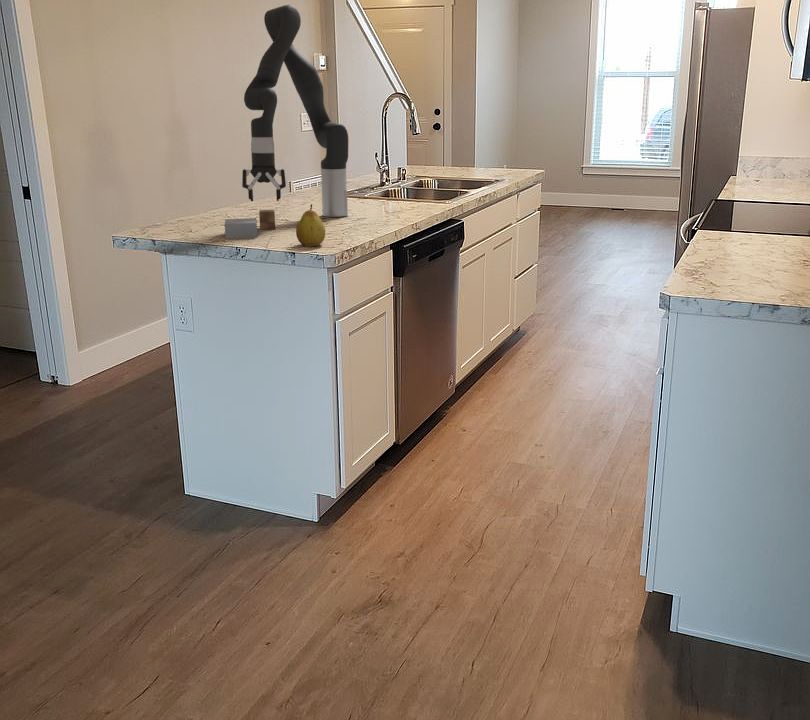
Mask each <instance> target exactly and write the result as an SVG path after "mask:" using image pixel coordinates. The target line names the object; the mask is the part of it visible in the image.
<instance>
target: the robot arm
mask: <svg viewBox="0 0 810 720" xmlns="http://www.w3.org/2000/svg"><path fill="white" fill-rule="evenodd" d="M263 17H264V18H263V19H264V20H263V21H264V25H265V29H266V31H267V33H268V35H269V37H270V38H271V40H272V43H271V44H270V46H268V48H267V49H266V51H265V52H264V54H263V55H262V57H261V60H260V62H259V65H258V68H257V72H256V75H255V76H254V77H253V79H252V81H250V83H249V84H248V86H247V87H246V88H245V89H246V90H245V92H244V96H243V102H244V104H245V107H246V108H247V109H248V110H251V111H263V112H262V114H261V116H260V117H255V118H253V119H251V120H250V130H251V131H250V132H251V134H250V135H251V136H250V137H251V141H250V151H251V153H250V154H251V169H246V168H244V169H242V178H241V179H242V183H241V184H242V188H243V189H247V192H248V193H247V195H248V200H250V202H254V190H253V188H254V186H255V185H256V183H261V184H262V183H266V184H267V183H272V185H273V186H274V187H275V188H276V189H275V193H276V202H279V200H281V197H282V194H281V190H282V189H284V188H286V186H287V185H286V184H287V183H286V182H287V181H286V173H285V169H284V168H281V169H276V162H275V160H276V159H275V158H276V157H275V141H274V128H273V127H274V126H273V125H274V118H275V115H276V114H275V113H276V110H277V105H278V95H277V93H276V91H275V90H274V89H273V88H274V87H276V86H277V84H278V80H279V77H280V73H281V71H282V67H283V64H284V66H285V67H286V69H287V71H288V74H289V75H290V76H289V77H290V78H291V81H292V83H293V86H294V87H295V90H296V92H297V94H298V96H299V98H300V101H301V103H302V106H303V107H304V110H305V112H306V114H307V116H308V119H309V122H310V124H311V128H312V130H313V133H314V134H313V135H314V137H315V139H316V142H317V143H318V145H319V146H320V147H321V148H323V149H326V150H325V151H326V155H325V157H324V158H323V159H322V160H321V161H320V176H321V177H320V178H321V207H322V208H321V211H322V216H323V217H328V218H329V217H330V218H331V217H332V218H336V217H337V218H339V217H348V216H349V215H348V214H349V213H348V212H349V211H348V207H349V206H348V189H347V188H348V187H347V186H348V185H347V162H348V159H349V133H348V130H347V128H346V126H345V125H343V124H342V123H339V122H338V123H336V122H332V120H331V119H330V117H329V115H328V112H327V110H326V107H325V101H324V99H325V98H324V97H325V96H324V86H323V82H322V80H321V77H320V76H319V72H318V70H317V69H316V67H315V65H314V64H313V63H312V62H311V61H310V60H309V59H308V58H307V57H306V56H304V55H303V54H302V53H301V52H300V51H298V49H297V48H296V47H295V46H294V43H293V42H294V40H295V38H296V36H297V35H298V33H299V31H300V29H301V20H302V18H301V14H300V12H299V11H298V9H297V8H296V6H294V5H292V4H291V5H290V4H285V5H281V6H278V7H275V8H272V9H269V10H266V12H265V14H264V16H263ZM250 174H251V176H252V177H253V180H251V182H250V184H247V183H248V182H247V180H248V178H247V177H249V175H250ZM277 174H278V176H279V177H280V178H281V184H279V183H278V181H277V180H276V179H275V176H276V175H277Z"/></svg>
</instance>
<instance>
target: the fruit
mask: <svg viewBox="0 0 810 720" xmlns="http://www.w3.org/2000/svg"><path fill="white" fill-rule="evenodd" d="M312 208H313V204H312V203H311V204H310V209H309V210H306V211H305V212H304V213H302V216H301V218H300V220H299V222H298V224H297V226H296V230H295V234H296V239H297V240H298V242H299V243H300V245H302V246H305V247H318V246H320V245H321V244H322V243H323V242H324V240H325V238H326V234H327V233H326V227H325V225H324V223H323V221H322V219H321V218H320V217H319V215H318V213H316V211H314V210H312Z"/></svg>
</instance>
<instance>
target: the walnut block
mask: <svg viewBox="0 0 810 720" xmlns="http://www.w3.org/2000/svg"><path fill="white" fill-rule="evenodd" d="M258 214H259V215H258V216H259V229H260V231H266V230H268V231H272V230H276V212H275V209H259V211H258Z"/></svg>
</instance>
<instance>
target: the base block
mask: <svg viewBox="0 0 810 720" xmlns="http://www.w3.org/2000/svg"><path fill="white" fill-rule="evenodd" d="M257 220H258V219H257V217H256V218H255V217H254V218H253V217H251V218H225V219H224V235H225V236H224V237H225V239H227V240H228V239H252V238H253V239H255V238H258V225H257V224H258V223H257Z"/></svg>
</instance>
